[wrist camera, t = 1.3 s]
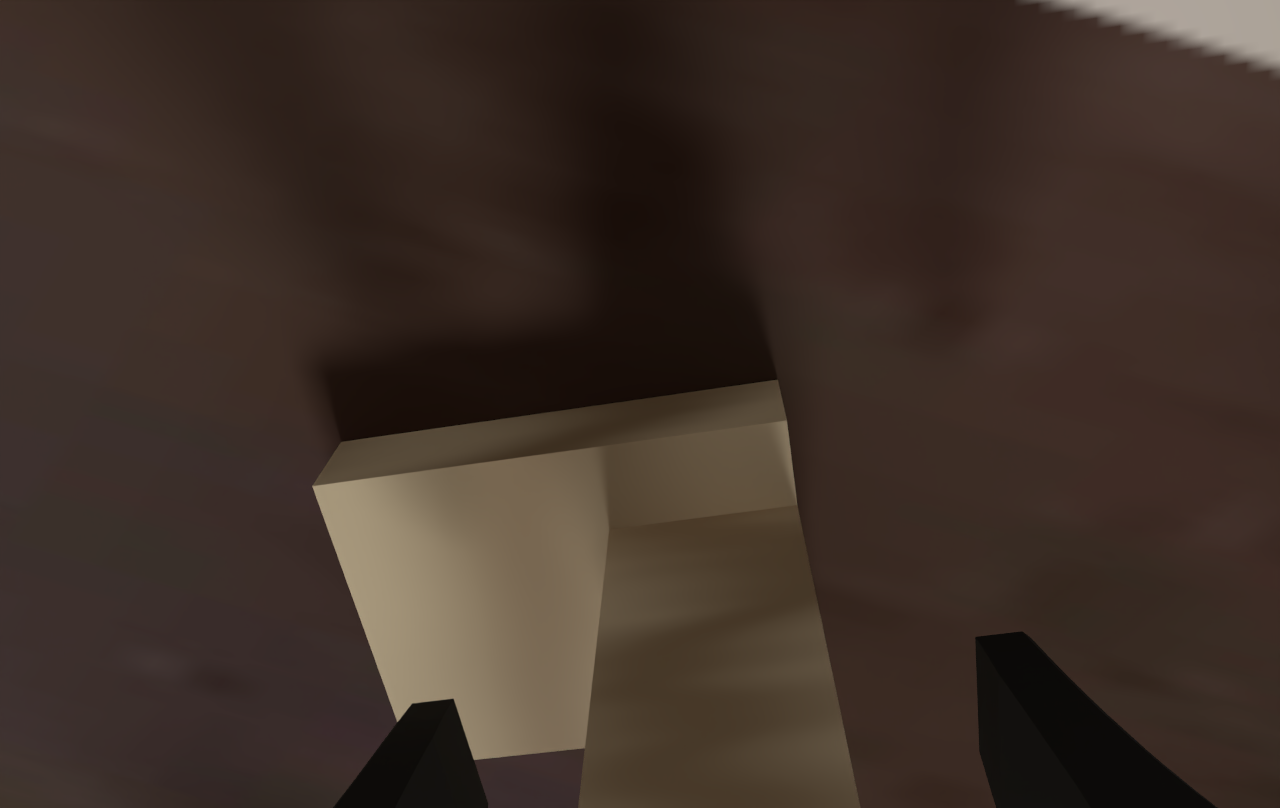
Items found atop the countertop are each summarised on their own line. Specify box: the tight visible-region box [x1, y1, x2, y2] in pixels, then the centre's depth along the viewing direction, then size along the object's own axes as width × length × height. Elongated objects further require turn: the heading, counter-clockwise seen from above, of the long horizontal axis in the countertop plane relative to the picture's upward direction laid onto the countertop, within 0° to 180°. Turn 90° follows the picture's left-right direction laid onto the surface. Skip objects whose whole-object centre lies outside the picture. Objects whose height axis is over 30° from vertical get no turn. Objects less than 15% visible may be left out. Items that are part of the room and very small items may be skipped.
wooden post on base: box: [312, 380, 860, 808], centre depth 14 cm, size 8×6×8 cm
